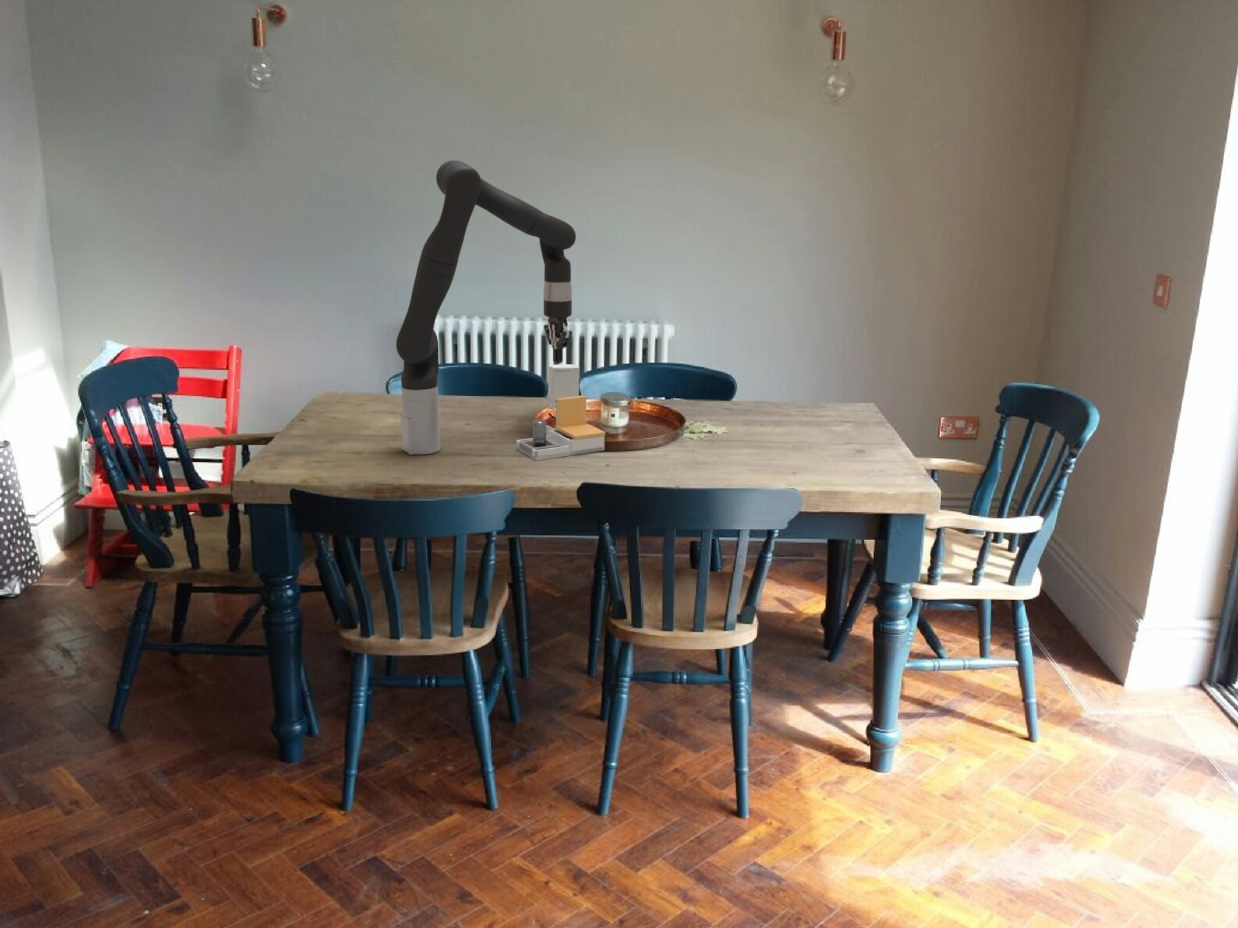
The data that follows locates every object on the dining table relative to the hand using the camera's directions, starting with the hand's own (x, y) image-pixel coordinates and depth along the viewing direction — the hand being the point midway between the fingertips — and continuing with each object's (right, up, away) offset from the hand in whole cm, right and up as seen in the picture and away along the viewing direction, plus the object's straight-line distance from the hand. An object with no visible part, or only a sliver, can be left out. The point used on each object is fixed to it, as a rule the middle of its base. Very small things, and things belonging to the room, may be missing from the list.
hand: (557, 362), depth 306 cm
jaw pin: (-4, -24, -10) cm, 26 cm away
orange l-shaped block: (+6, -19, -6) cm, 21 cm away
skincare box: (0, -13, +30) cm, 33 cm away
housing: (-1, -23, -4) cm, 23 cm away
